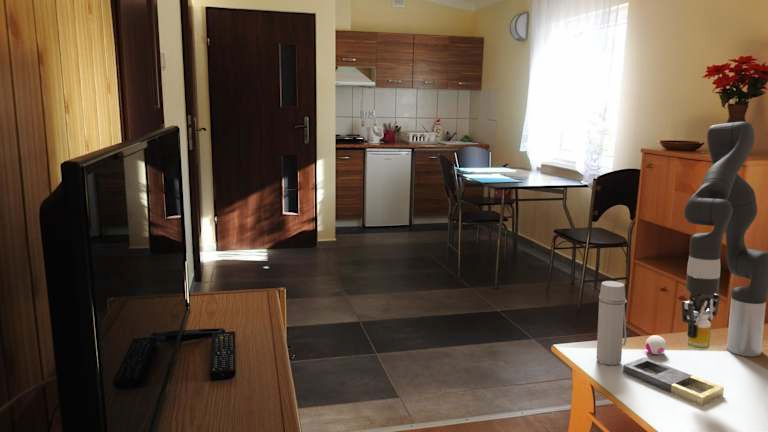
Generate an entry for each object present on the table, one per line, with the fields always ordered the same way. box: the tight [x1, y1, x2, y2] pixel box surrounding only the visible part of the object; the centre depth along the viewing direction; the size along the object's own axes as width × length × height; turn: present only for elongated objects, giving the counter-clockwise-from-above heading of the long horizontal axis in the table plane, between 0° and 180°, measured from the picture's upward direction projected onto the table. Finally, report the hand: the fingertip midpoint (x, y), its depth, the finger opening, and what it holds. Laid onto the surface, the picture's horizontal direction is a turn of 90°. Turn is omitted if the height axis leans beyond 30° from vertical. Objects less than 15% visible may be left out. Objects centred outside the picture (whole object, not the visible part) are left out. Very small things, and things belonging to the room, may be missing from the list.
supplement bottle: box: [685, 311, 712, 351], centre depth 150 cm, size 5×5×10 cm
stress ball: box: [644, 334, 667, 356], centre depth 179 cm, size 8×8×7 cm
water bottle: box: [596, 280, 628, 366], centre depth 172 cm, size 9×8×25 cm
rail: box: [622, 357, 725, 407], centre depth 158 cm, size 10×24×2 cm, turn 31°
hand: (698, 334), depth 150 cm, fingers closed on supplement bottle, 5 cm apart
